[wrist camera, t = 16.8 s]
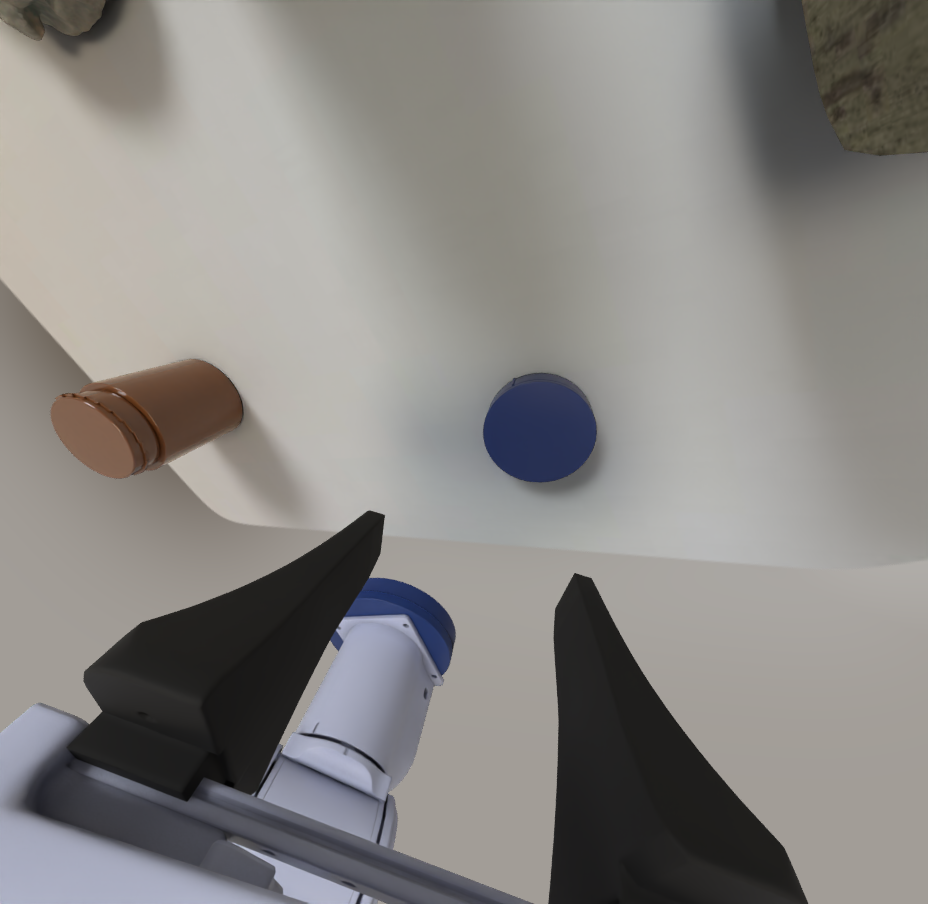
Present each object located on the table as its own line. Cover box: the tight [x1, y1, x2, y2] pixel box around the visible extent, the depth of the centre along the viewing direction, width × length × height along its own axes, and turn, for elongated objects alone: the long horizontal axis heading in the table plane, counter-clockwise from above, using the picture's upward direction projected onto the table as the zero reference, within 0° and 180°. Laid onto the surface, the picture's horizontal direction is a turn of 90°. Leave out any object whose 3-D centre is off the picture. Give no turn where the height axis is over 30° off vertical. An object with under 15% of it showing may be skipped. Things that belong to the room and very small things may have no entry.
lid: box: [483, 373, 597, 482], centre depth 19 cm, size 6×6×2 cm
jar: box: [50, 359, 243, 479], centre depth 20 cm, size 5×5×7 cm
